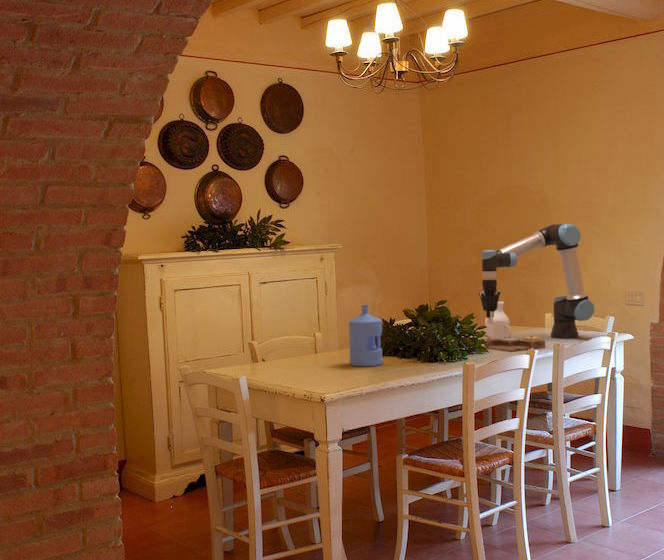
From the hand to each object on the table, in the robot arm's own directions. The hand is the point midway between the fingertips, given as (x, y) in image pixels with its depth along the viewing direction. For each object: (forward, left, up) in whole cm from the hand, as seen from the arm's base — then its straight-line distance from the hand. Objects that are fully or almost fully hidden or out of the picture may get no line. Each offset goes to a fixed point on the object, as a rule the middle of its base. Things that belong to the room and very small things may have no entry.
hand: (490, 323), depth 448 cm
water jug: (+83, +7, -12) cm, 84 cm away
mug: (-21, -16, -12) cm, 29 cm away
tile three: (-13, +17, -9) cm, 23 cm away
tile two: (+1, -1, -10) cm, 10 cm away
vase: (-31, -31, -12) cm, 46 cm away
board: (-6, +8, -12) cm, 16 cm away
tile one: (-6, +8, -10) cm, 15 cm away
